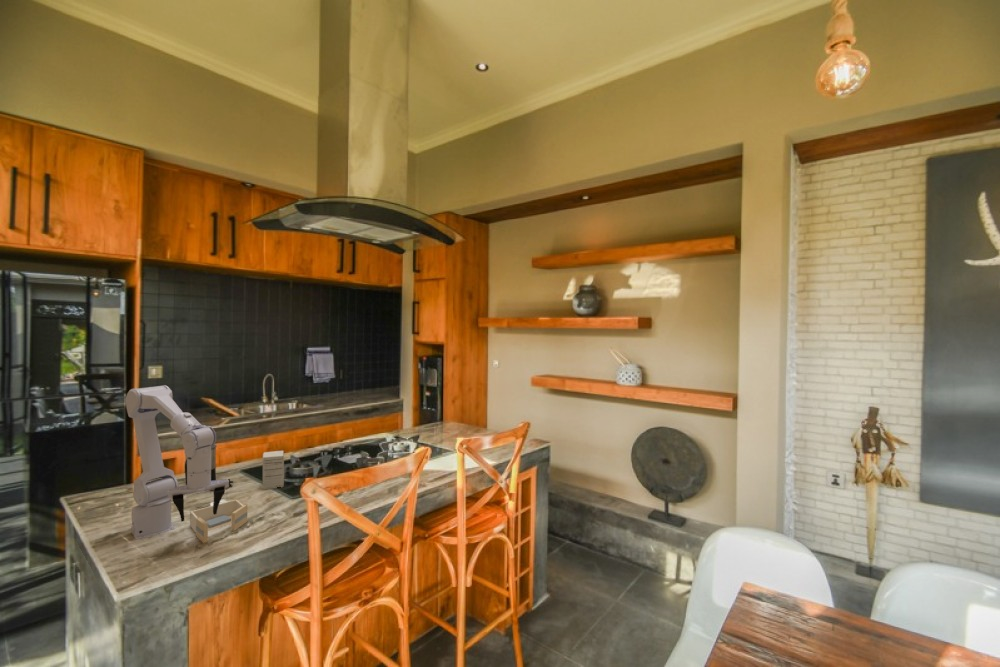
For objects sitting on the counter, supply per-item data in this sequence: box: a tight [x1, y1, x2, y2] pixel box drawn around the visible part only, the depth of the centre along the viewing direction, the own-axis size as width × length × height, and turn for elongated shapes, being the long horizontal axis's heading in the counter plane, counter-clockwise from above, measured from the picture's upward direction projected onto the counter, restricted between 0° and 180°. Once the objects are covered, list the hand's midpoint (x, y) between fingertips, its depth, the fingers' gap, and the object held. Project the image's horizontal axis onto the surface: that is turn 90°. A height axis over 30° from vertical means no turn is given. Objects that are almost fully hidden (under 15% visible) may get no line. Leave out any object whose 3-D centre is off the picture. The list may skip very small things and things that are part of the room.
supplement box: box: [262, 450, 285, 491], centre depth 172 cm, size 7×7×13 cm
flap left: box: [195, 517, 209, 544], centre depth 129 cm, size 7×1×6 cm, turn 51°
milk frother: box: [184, 444, 234, 486], centre depth 171 cm, size 14×16×15 cm
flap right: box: [231, 503, 248, 531], centre depth 138 cm, size 7×1×6 cm, turn 178°
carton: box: [189, 499, 244, 533], centre depth 139 cm, size 13×8×5 cm, turn 138°
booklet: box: [205, 515, 231, 528], centre depth 139 cm, size 6×4×1 cm
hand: (199, 516), depth 127 cm, fingers open, 7 cm apart
